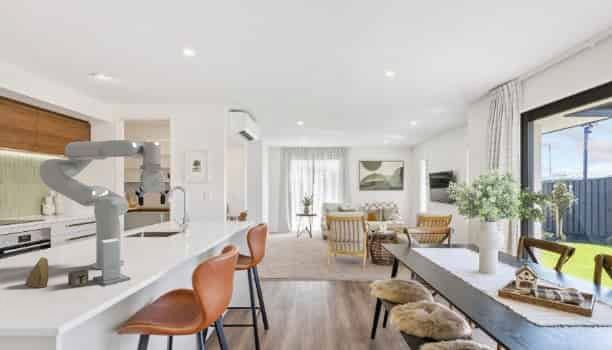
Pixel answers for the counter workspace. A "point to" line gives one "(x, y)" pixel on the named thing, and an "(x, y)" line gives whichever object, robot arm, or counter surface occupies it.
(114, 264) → the skincare box
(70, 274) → the walnut letter cube
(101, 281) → the slate mat
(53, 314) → the counter surface
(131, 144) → the robot arm
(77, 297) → the counter surface
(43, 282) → the rock
